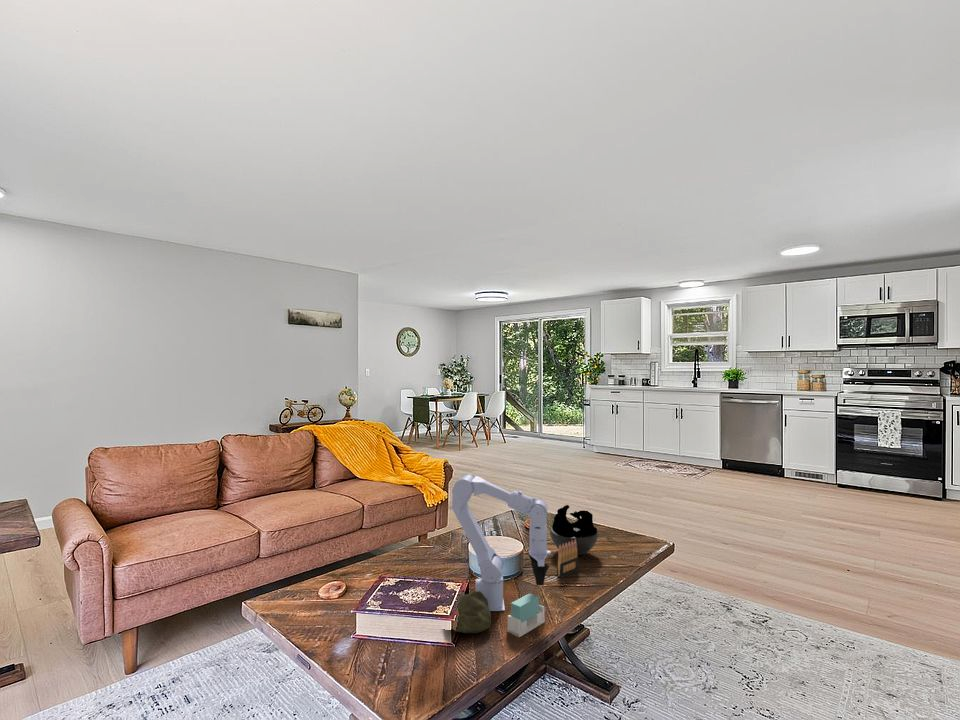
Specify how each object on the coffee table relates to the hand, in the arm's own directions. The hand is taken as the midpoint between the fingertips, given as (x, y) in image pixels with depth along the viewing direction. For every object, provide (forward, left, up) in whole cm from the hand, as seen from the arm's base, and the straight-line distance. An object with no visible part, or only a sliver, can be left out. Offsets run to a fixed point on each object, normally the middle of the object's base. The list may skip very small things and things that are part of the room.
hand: (538, 579), depth 169 cm
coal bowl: (+21, +48, -10) cm, 53 cm away
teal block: (-6, -11, -6) cm, 14 cm away
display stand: (-5, -11, -10) cm, 15 cm away
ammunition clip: (+15, +29, -10) cm, 34 cm away
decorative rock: (-23, -10, -10) cm, 27 cm away
